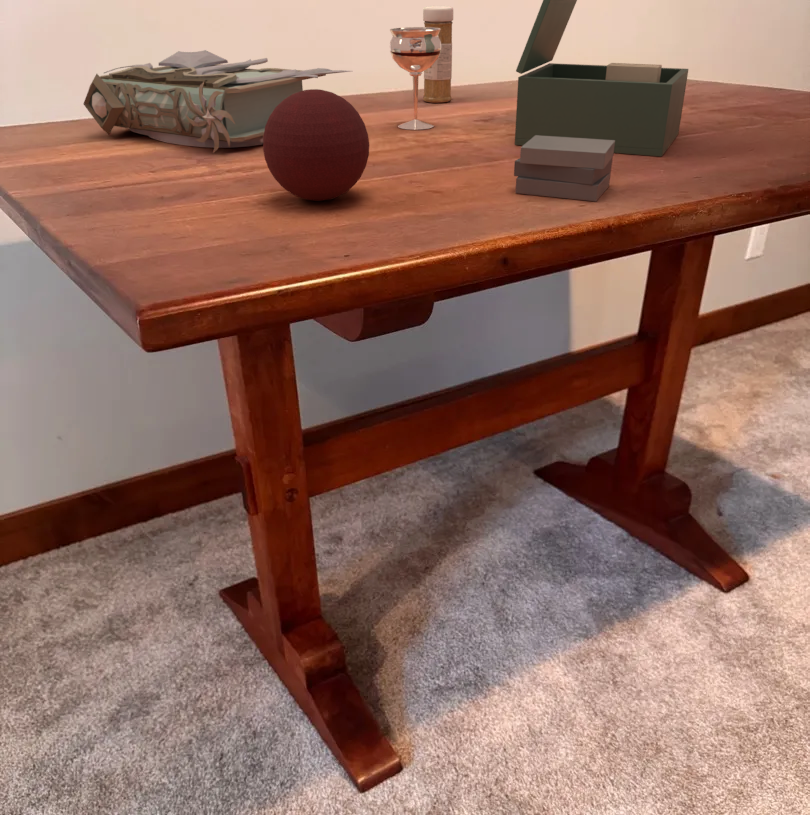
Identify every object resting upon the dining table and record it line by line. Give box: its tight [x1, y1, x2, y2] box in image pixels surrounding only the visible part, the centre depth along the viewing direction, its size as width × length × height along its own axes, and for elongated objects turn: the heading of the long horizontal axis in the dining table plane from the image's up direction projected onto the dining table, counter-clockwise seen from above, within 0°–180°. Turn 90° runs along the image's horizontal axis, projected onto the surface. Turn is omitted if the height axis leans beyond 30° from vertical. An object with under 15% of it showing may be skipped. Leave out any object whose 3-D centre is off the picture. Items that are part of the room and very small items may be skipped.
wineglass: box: [389, 26, 441, 131], centre depth 106 cm, size 7×7×12 cm
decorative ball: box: [262, 88, 370, 202], centre depth 75 cm, size 10×10×10 cm
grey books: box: [513, 135, 615, 202], centre depth 79 cm, size 9×7×4 cm
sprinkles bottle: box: [422, 5, 454, 104], centre depth 123 cm, size 5×5×14 cm
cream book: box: [606, 62, 663, 83], centre depth 96 cm, size 6×2×8 cm, turn 66°
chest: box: [514, 62, 689, 157], centre depth 98 cm, size 18×14×8 cm
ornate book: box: [83, 49, 352, 154], centre depth 105 cm, size 23×10×30 cm
